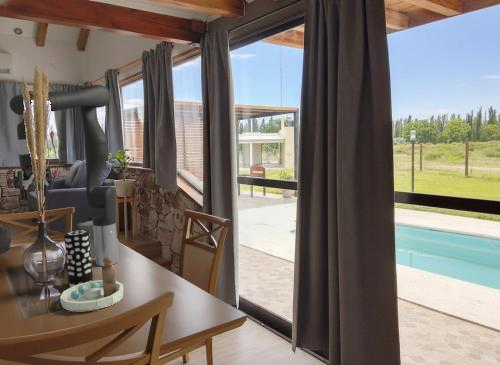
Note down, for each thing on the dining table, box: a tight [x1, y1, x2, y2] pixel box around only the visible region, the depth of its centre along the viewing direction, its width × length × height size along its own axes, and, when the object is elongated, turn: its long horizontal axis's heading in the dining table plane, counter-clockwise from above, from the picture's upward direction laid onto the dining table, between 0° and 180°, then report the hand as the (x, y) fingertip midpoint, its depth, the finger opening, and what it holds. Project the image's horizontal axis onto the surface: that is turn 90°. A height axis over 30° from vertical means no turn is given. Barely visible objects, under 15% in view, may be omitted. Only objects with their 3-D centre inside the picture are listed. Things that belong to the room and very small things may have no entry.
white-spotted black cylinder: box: [63, 229, 94, 289], centre depth 144 cm, size 8×8×20 cm
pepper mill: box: [101, 257, 117, 297], centre depth 131 cm, size 4×4×13 cm
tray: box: [59, 279, 124, 311], centre depth 131 cm, size 19×19×4 cm
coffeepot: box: [76, 216, 96, 259], centre depth 182 cm, size 15×9×18 cm, turn 88°
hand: (35, 198), depth 139 cm, fingers open, 8 cm apart
